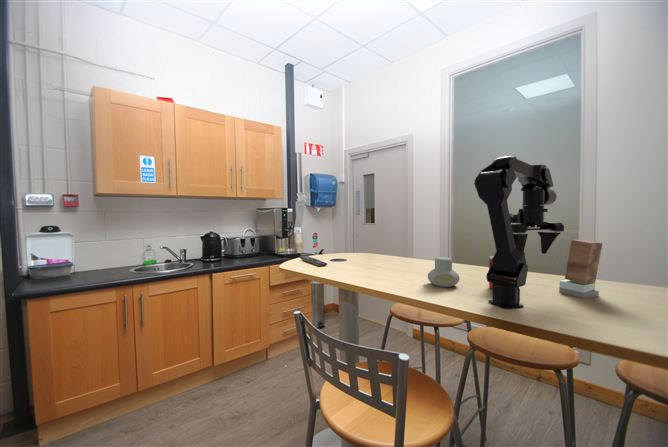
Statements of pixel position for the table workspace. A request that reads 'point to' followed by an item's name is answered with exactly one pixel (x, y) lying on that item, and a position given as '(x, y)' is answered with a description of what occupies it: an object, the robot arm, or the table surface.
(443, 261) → the air freshener
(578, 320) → the table surface
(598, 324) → the table surface
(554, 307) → the table surface
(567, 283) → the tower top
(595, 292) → the tower base
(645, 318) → the table surface
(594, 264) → the walnut post
